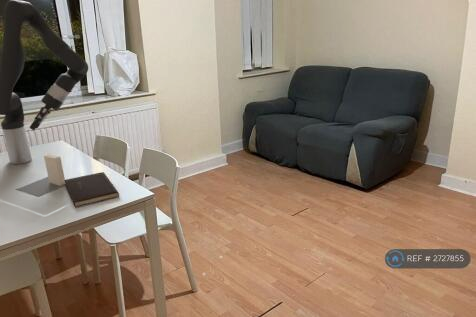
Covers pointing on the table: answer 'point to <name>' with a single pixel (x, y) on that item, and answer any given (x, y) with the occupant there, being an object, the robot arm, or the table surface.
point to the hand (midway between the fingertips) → (33, 128)
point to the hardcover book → (90, 189)
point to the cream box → (54, 169)
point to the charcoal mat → (39, 187)
